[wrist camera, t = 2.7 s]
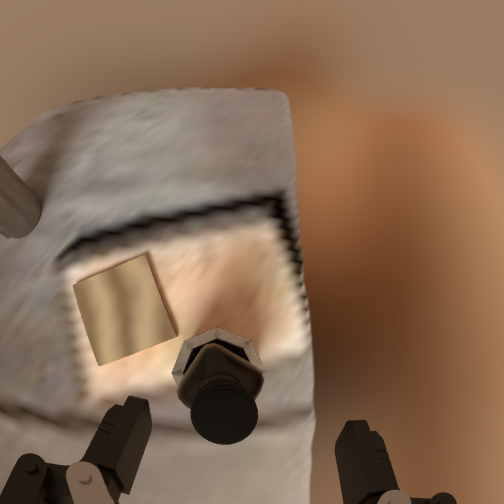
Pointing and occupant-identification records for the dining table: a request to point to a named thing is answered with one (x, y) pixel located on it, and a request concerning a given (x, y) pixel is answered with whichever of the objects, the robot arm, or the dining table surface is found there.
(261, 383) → the wine bottle
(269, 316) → the dining table surface
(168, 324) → the oak board
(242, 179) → the dining table surface
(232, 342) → the wooden sleeve
